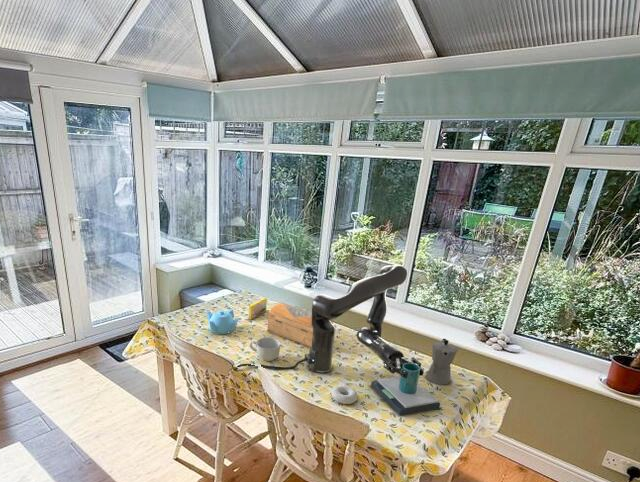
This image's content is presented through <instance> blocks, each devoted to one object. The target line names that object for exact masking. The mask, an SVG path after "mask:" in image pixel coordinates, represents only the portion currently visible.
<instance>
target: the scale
mask: <svg viewBox="0 0 640 482" xmlns="http://www.w3.org/2000/svg"><path fill="white" fill-rule="evenodd" d="M400 377H401V375H398V376H391V377H385V378H379V379H377V380H372V381H371V382H370V383H371V384H370V387H371V388H372V390H374V391H375V392H376V393H377V394H378V395H379V396H380V397H381V398H382V399H383V401H385V403H386V404H388V405H389V406H390V407H391V409H393V411H395V412H396V413H397V414H398V416H404V415H410V414H416V413H421V412H427V411H434V410H439V409H440V407H441V402H440V400H439V399H438V398H436V397H435V396H434V395H433V394H431V392H429V391H428V390H426V389H425V388H424V387H423V386H422V385H420V383H418V385H417V390H416V393H414V394H406V393H403V392H401V391H400V390H399V382H400Z"/></svg>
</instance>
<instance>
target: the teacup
mask: <svg viewBox="0 0 640 482" xmlns="http://www.w3.org/2000/svg"><path fill="white" fill-rule="evenodd" d="M253 344H254V345H255V347H256V348H255V347H254V346H253ZM249 349H251V350H252V351H253V352H254V353H255V354H256V355H257V357H258V358H259V359H260V360H262V361H264V362H271V361H274V360H276V359H277V358H279V355H280V351H281V341H280V340H278V339H277V338H274V337H271V336H270V337H269V336H266V337H261V338H259V339H257V341H256V340H251V341H250V342H249Z"/></svg>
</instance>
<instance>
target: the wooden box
mask: <svg viewBox="0 0 640 482" xmlns="http://www.w3.org/2000/svg"><path fill="white" fill-rule="evenodd" d="M330 321H331V323H332V324H333V325H334V320H330ZM267 332H269V333H272V334H274V335H276V336H280V337H282V338H284V339H288V340H289V341H293V342H295V343H297V344H301V345H303V346H306V347H309V348H310V346H312V335H313V327H312V310H309V309H305V308H301V307H299V306H294V305H291V304H288V303H285V302H278V303H276V304H274V305H273V306H272V307H271V308H270V309H269V311H268V313H267Z"/></svg>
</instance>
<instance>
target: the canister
mask: <svg viewBox="0 0 640 482" xmlns="http://www.w3.org/2000/svg"><path fill="white" fill-rule="evenodd" d="M402 369H403V370H404V371H405V372H407V378H404V377H402V376H401V375H400V376H401V377H400V382H399V390H400V391H401V392H403V393H406V394H414V393H416V390H417V385H418V384H419V379H420V370H421V369H422V367H421V368H420V367H419V366H418V365H416V364H413V363H405V364H403V366H402Z"/></svg>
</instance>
